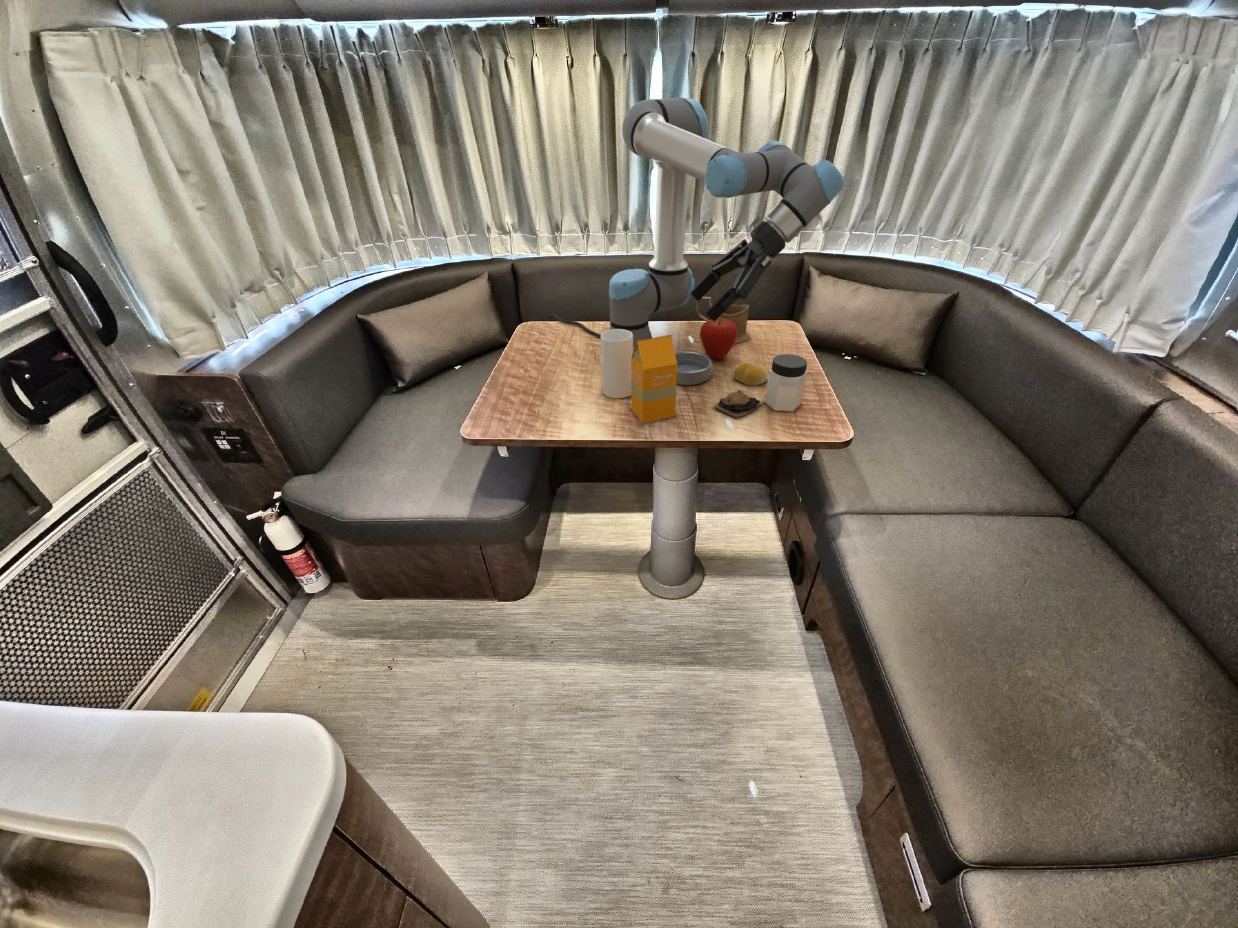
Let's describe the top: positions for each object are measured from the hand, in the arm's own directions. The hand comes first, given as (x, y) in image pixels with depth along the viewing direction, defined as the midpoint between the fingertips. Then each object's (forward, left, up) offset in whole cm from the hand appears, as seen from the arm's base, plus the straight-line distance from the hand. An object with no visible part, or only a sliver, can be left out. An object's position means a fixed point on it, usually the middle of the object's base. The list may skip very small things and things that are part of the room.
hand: (701, 307), depth 120 cm
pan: (-16, +12, -27) cm, 33 cm away
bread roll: (-3, +24, -27) cm, 36 cm away
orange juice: (-5, -9, -27) cm, 29 cm away
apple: (-19, +27, -27) cm, 42 cm away
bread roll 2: (+6, +10, -27) cm, 29 cm away
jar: (+12, +20, -27) cm, 35 cm away
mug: (-31, +40, -27) cm, 57 cm away
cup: (-20, -9, -27) cm, 35 cm away
